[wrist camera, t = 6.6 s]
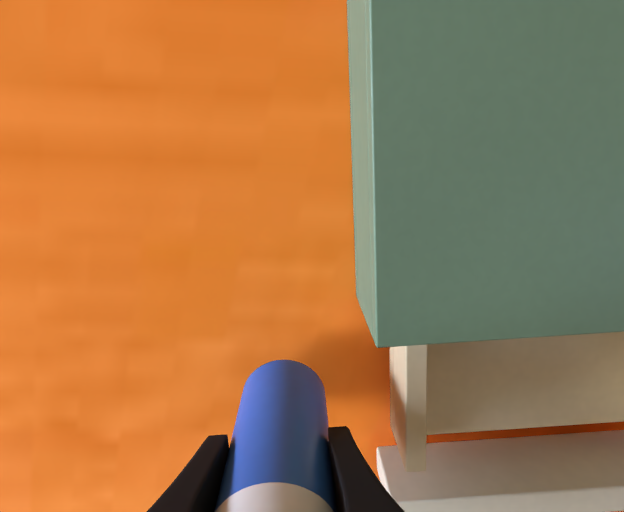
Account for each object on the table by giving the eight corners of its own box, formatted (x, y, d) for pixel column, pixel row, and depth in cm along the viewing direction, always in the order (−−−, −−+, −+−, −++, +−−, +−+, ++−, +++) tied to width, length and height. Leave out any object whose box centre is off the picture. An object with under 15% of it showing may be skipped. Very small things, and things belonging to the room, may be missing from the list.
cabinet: (659, 277, 18) (786, 322, 13) (356, 296, 18) (376, 348, 13) (721, -112, 15) (924, -237, 10) (343, -93, 14) (364, -212, 10)
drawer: (623, 520, 20) (681, 586, 17) (378, 537, 20) (392, 607, 17) (682, 157, 16) (774, 158, 13) (370, 175, 16) (387, 182, 13)
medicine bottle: (324, 355, 17) (342, 513, 9) (328, 429, 18) (347, 627, 10) (237, 360, 17) (188, 523, 9) (246, 435, 18) (207, 637, 10)
